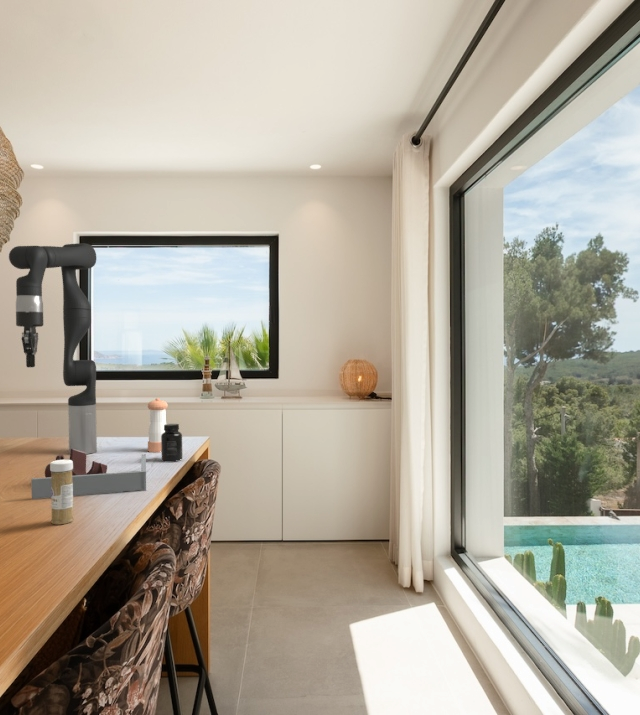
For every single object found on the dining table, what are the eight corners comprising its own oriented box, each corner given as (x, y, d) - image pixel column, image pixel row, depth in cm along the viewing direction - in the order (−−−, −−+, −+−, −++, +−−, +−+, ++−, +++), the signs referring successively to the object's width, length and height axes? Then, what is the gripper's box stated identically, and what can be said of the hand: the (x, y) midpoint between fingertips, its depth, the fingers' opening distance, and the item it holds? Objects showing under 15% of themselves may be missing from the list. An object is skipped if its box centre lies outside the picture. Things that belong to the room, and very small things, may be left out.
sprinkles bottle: (47, 522, 125) (46, 461, 125) (67, 517, 129) (66, 458, 128) (57, 526, 122) (56, 464, 122) (77, 521, 126) (76, 460, 125)
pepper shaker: (168, 451, 206) (167, 398, 205) (147, 452, 204) (146, 399, 203) (168, 448, 213) (168, 397, 212) (148, 449, 211) (147, 397, 211)
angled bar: (47, 477, 168) (47, 460, 168) (145, 470, 176) (145, 454, 176) (31, 499, 144) (31, 479, 144) (146, 490, 152) (145, 471, 152)
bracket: (98, 479, 154) (99, 442, 157) (43, 489, 156) (44, 454, 160) (111, 482, 159) (111, 447, 163) (57, 492, 162) (59, 458, 166)
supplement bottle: (186, 458, 194) (186, 423, 193) (175, 462, 187) (174, 426, 187) (169, 457, 196) (168, 422, 195) (157, 461, 189) (156, 425, 189)
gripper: (20, 312, 181) (21, 366, 182) (11, 309, 168) (12, 368, 169) (46, 312, 183) (47, 366, 184) (39, 310, 171) (40, 367, 171)
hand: (30, 367), depth 176 cm, fingers closed
